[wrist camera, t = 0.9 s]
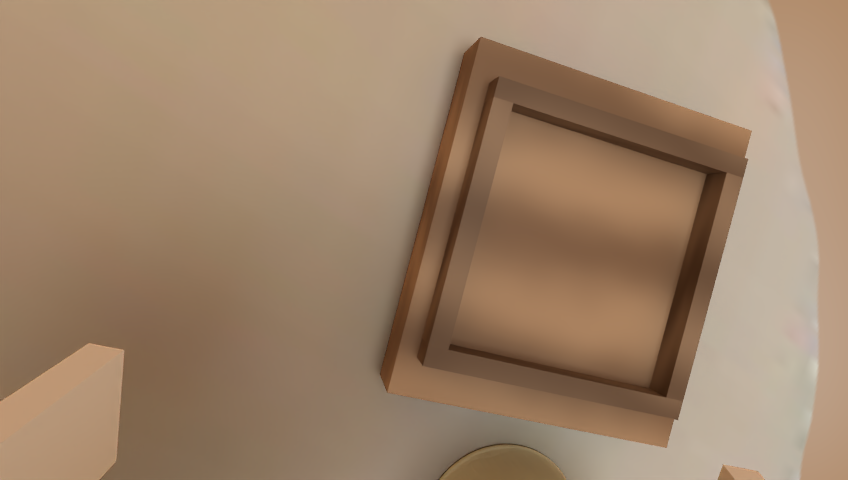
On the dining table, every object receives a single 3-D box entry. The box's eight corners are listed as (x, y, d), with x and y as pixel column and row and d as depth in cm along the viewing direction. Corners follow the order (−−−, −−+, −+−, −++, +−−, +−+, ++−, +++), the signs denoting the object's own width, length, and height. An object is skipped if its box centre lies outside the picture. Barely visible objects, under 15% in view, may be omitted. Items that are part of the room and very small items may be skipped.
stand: (635, 426, 34) (684, 460, 29) (380, 374, 30) (391, 403, 26) (713, 137, 33) (774, 127, 29) (464, 53, 30) (490, 27, 26)
